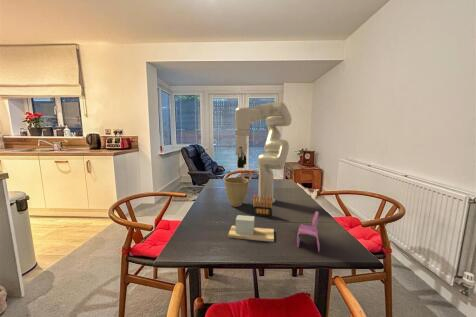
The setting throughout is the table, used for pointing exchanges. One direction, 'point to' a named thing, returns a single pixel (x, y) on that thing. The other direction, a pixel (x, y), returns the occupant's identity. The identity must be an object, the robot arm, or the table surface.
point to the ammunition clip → (262, 206)
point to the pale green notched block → (245, 224)
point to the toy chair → (309, 229)
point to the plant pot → (236, 190)
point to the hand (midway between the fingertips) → (242, 166)
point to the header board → (259, 234)
